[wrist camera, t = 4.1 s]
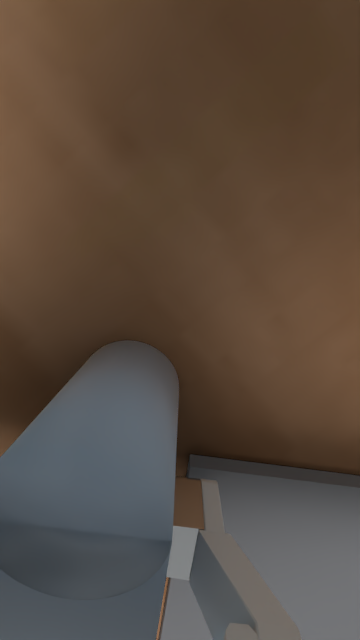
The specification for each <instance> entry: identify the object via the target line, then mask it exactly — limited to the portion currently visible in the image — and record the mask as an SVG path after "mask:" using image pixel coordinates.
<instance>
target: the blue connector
mask: <svg viewBox="0 0 360 640" xmlns="http://www.w3.org/2000/svg"><path fill="white" fill-rule="evenodd" d="M178 405H179V380H178V376H177V373H176V370H175V368H174V366H173V365H172V363H171V362H170V360H169V359H168V358H167V357H166V356H165V355H164V354H163V353H162V352H160V351H159V350H158V349H156V348H154V347H152V346H150V345H148V344H145V343H142V342H138V341H130V340H125V341H117V342H113V343H110V344H107V345H105V346H103V347H101V348H100V349H98V350H97V351H96V352H95V353H94V354H92V356H91V357H90V358H89V359H88V360H87V361H86V362H85V363H84V365H83V366H82V367H81V368H80V369H79V370H78V371H77V372H76V373H75V375H74V376H73V377H72V378H71V379H70V380H69V381H68V382H67V384H66V385H65V386H64V387H63V388H62V389H61V390H60V391H59V392H58V394H57V395H56V396H55V397H54V398H53V399H52V400H51V401H50V403H49V404H48V405H47V406H46V407H45V408H44V409H43V410H42V411H41V413H40V414H39V415H38V416H37V417H36V418H35V419H34V420H33V421H32V423H31V424H30V425H29V426H28V427H27V428H26V429H25V430H24V432H23V433H22V434H21V435H20V436H19V437H18V438H17V439H16V440H15V442H14V443H13V444H12V445H11V446H10V447H9V448H8V449H7V451H6V452H5V453H4V454H3V455H2V456H1V457H0V640H156V635H157V629H158V623H159V617H160V611H161V605H162V599H163V593H164V587H165V581H166V575H167V569H168V563H169V557H170V551H171V545H172V535H173V516H174V494H175V472H176V449H177V427H178Z"/></svg>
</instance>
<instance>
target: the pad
mask: <svg viewBox="0 0 360 640" xmlns="http://www.w3.org/2000/svg"><path fill="white" fill-rule="evenodd" d="M186 477H189V478H198V479H207V480H216V481H217V483H218V488H219V495H220V502H221V509H222V516H223V523H224V530H225V533H228V534H231V536H232V537H233V539H234V540H235V541H236V543H237V544H238V546H239V547H240V548H241V550H242V551H243V553H244V554H245V555H246V557H247V558H248V559H249V561H250V562H251V564H252V565H253V566H254V568H255V569H256V571H257V572H258V573H259V575H260V576H261V578H262V579H263V580H264V582H265V583H266V584H267V586H268V587H269V589H270V590H271V591H272V593H273V594H274V596H275V597H276V598H277V600H278V601H279V603H280V604H281V605H282V607H283V608H284V609H285V611H286V612H287V614H288V615H289V616H290V618H291V619H292V621H293V622H294V623H295V625H296V626H297V628H298V629H299V632H300V636H301V639H302V640H360V476H358V475H351V474H343V473H335V472H327V471H319V470H311V469H303V468H295V467H287V466H279V465H271V464H263V463H255V462H247V461H239V460H231V459H224V458H216V457H208V456H200V455H192V454H190V456H189V462H188V468H187V474H186ZM159 640H213V638H212V635H211V633H210V631H209V628H208V626H207V623H206V621H205V619H204V616H203V614H202V612H201V609H200V607H199V605H198V602H197V600H196V598H195V595H194V593H193V591H192V588H191V586H190V584H189V580H183V579H176V578H170V577H169V581H168V586H167V592H166V598H165V604H164V610H163V616H162V622H161V628H160V634H159Z"/></svg>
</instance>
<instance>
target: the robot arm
mask: <svg viewBox="0 0 360 640" xmlns="http://www.w3.org/2000/svg"><path fill="white" fill-rule="evenodd" d="M166 577H170V578H176V579H183V580H189V584H190V586H191V588H192V591H193V593H194V595H195V598H196V600H197V602H198V605H199V607H200V609H201V612H202V614H203V616H204V619H205V621H206V623H207V626H208V628H209V631H210V633H211V635H212V638H213V640H302V639H301V636H300V632H299V629H298V628H297V626H296V625H295V623H294V622H293V621H292V619H291V618H290V616H289V615H288V614H287V612H286V611H285V609H284V608H283V607H282V605H281V604H280V603H279V601H278V600H277V598H276V597H275V596H274V594H273V593H272V591H271V590H270V589H269V587H268V586H267V584H266V583H265V582H264V580H263V579H262V578H261V576H260V575H259V573H258V572H257V571H256V569H255V568H254V566H253V565H252V564H251V562H250V561H249V559H248V558H247V557H246V555H245V554H244V553H243V551H242V550H241V548H240V547H239V546H238V544H237V543H236V541H235V540H234V539H233V537H232V536H231V534H228V533H225V530H224V523H223V516H222V509H221V502H220V495H219V488H218V483H217V481H216V480H207V479H198V478H189V477H180V476H175V494H174V516H173V535H172V545H171V551H170V557H169V563H168V569H167V575H166Z"/></svg>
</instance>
